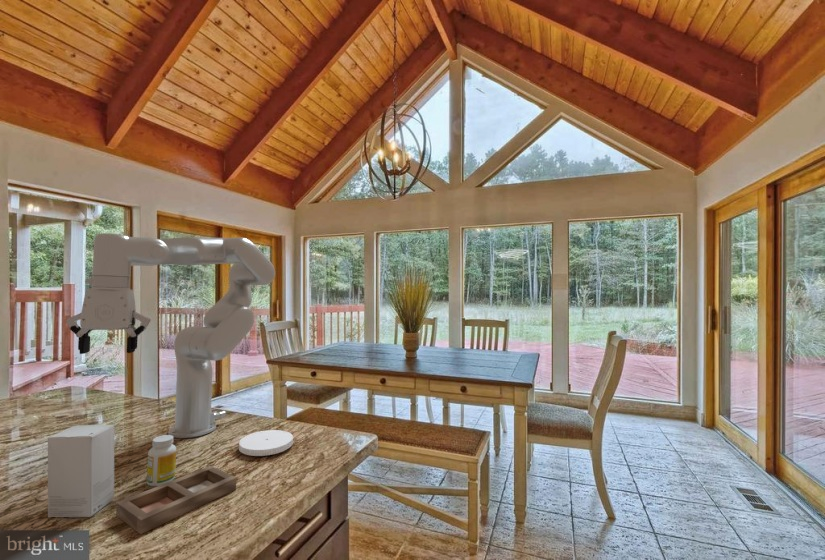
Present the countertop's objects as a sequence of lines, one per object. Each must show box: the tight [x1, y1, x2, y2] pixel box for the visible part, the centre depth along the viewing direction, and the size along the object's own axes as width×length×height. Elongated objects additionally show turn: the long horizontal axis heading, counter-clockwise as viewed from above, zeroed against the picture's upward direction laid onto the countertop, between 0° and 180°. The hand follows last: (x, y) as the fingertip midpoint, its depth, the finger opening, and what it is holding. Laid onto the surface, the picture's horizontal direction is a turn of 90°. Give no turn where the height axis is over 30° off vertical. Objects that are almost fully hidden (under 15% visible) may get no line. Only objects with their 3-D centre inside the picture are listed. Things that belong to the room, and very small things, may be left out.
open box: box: [115, 465, 237, 535], centre depth 78 cm, size 18×10×2 cm, turn 148°
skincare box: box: [47, 424, 115, 518], centre depth 75 cm, size 8×7×16 cm
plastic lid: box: [238, 429, 294, 457], centre depth 106 cm, size 14×14×2 cm
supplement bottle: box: [146, 434, 177, 487], centre depth 87 cm, size 5×5×10 cm
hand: (108, 352), depth 94 cm, fingers open, 9 cm apart
